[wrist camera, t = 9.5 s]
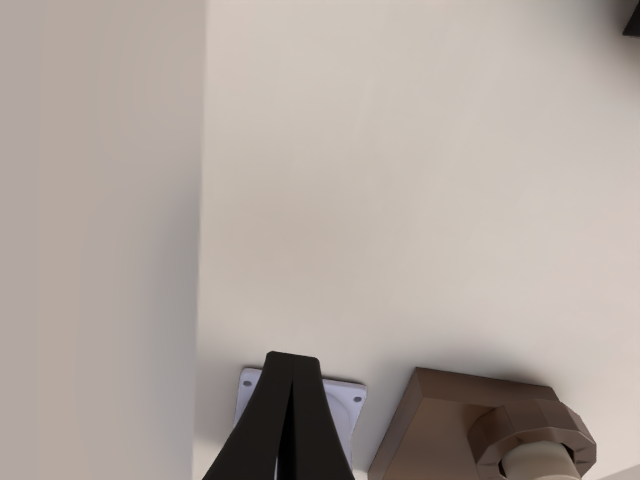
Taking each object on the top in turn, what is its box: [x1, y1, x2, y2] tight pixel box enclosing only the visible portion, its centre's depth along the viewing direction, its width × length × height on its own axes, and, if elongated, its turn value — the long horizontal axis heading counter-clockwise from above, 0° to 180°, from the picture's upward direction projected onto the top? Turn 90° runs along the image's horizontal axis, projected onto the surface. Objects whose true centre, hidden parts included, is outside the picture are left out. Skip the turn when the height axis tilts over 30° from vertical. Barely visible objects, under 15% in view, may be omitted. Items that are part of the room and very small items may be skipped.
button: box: [502, 441, 582, 480], centre depth 23 cm, size 4×4×2 cm
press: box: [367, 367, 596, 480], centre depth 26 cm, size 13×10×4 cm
